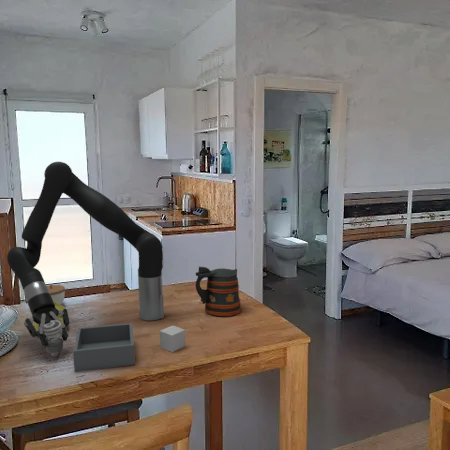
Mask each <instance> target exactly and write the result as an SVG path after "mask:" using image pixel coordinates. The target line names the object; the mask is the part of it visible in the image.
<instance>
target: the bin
mask: <svg viewBox="0 0 450 450" xmlns="http://www.w3.org/2000/svg"><path fill="white" fill-rule="evenodd" d="M133 331H134V330H133V322H130V323H119V324H108V325H107V324H106V325H97V326H86V327H78V328H77V330H76V336H75V341H74V345H73V351H72V354H73V355H72V356H73V369H74V370H73V372H82V371H90V370H98V369H99V370H101V369H109V368H116V367H117V368H118V367H125V366H134V365H136V361H135V360H136V359H135V341H134V338H135V337H134V332H133Z"/></svg>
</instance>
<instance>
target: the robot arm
mask: <svg viewBox="0 0 450 450" xmlns="http://www.w3.org/2000/svg"><path fill="white" fill-rule="evenodd" d="M43 173H44V176H43V177H44V180H43V185H42V189H41V192H40V194H39V197H38V199H37V201H36V203H35V205H34V207H33V209H32V210H31V213H30V215H29V217H28V218H27V221H26V223H25V225H24V228H23V230H22V233H21V239H22V240H23V241H25V242H26V248H25V247H22V246H14V247H12V248H10V250H9V251H8V253H7V257H6V260H7V264H8V266H9V268H10V269H11V271H12V272H13V273H14V275H15V276H16V277H17V279H18V280H19V281H20V284H21V287H22V290H23V292H24V298H25V301H26V303H27V305H28V308H29V311H30V313H31V317H30V318H28V317H26V318H25V320H24V323H23V324H24V326H25V327H26V329H27V331H28V333H29V334H30V336H31V337H32V338H38V339H39V340H40V341H39V342H40V344H41V345H42V347H44V348H46V347H47V346H48V341H47V340H48V338H46V336H45V334H44V332H45V331H44V325H45V324H48V323H50V321H52V320H56V321H60V322H61V320H60V319H59V318H58V317H57V316H58V314H59V315H60V316H61V317H62V318H63V323H64V324H63V323H62V322H61V326H62V336H61V339H62V340H63V342H66V341H67V340H68V338H69V334H68V332H67V329H68V328H69V325H70V324H71V323H70V317H69V312H68V309H67V308H65V309H64V310H59V311H58V310H57V309H56V307H55V304H54V302H53V299H52V297H51V294H50V292H49V290H48V287H47V286H48V285H47V284H46V282H45V280H44V277H43V274H42V272H41V271H40V270H39V269H37V268H36V266H37V265H38V263H39V262H40V259H41V254H42V253H41V252H42V246H43V239H44V237H45V235H46V233H47V230H48V229H49V225H50V223H51V221H52V217H53V215H54V212H55V210H56V208H57V205H58V202H59V201H60V199H61V197H62V195H63V194H64V195H65V196H67V197H68V198H70V199H72V200H73V201H74V202H75V203H76V204H77V205H78V206H79V207H80V208H81V209H82V210H83V211H84V212H86V213H87V214H88V215H89V216H90V217H91V218H92V219H93V220H94V221H96V222H97V223H99V224H100V225H101V226H103V227H104V228H106V229H107V230H108V231H111V232H113V233H114V234H117V235H119V236H120V237H122V238H123V239H124V240H126V241H127V242H128V243H129V244H130V245H131V246H133V248H134V249H135V250H136V251H137V252H138V268H137V278H138V279H137V281H138V283H137V284H138V285H137V286H138V303H139V305H138V306H139V307H138V309H139V312H138V313H139V319H140V320H142V321H146V322H147V321H157V320H160V319H164V315H165V313H164V312H165V311H164V308H165V307H164V294H163V268H164V267H163V266H164V262H163V261H164V255H163V253H164V251H163V250H164V249H163V248H164V247H163V244H162V241H161V240H160V239H159V238H158V237H157V236H156V235H155V234H153V233H152V232H149V231H148V230H147V229H146V228H143V227H142V226H140V225H139V224H137V223H136V222H135V221H134V220H133V219H132V218H131V217H130V216H129V215H128V214H127V213H126V212H125V211H124V210H123V209H122V208H120V206H118V205H117V204H116V203H115V202H114V201H112V200H111V199H110V198H108V197H107V196H106V195H104V194H103V193H101V192H99V191H98V190H97V189H94V188H92V187H91V186H89V185H88V184H86V183H85V182H83V180H81V179H80V178H79V177H78V176H77V175H76V174H75V173H74V172H73V171H72V168H71V167H70V165H68V163H65V162H64V161H54V162H51V163H50V164H48V165H47V166H46V168H45V170H44V172H43ZM34 322H35V323H37V324H39V327H38V331H36V329H35V327H34V326H33V325H34ZM58 324H59V323H58ZM54 326H56V325H54ZM65 328H67V329H65Z"/></svg>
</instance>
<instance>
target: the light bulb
mask: <svg viewBox="0 0 450 450" xmlns="http://www.w3.org/2000/svg"><path fill="white" fill-rule="evenodd" d="M58 323H59V324H58ZM54 325H56V326H54ZM57 329H58V330H57ZM43 334H45V336H46V339H47V341H48V346H47V347H45V350H46V352H48V353H50V355H51V356H53V357H57V356H58V355H59V354H60V351H62V350H63V348H64V343H63V342H64V341H63V339H62V326H61V322H60V321H56V320H52V321H50V323H48V324H45V325H44V332H43Z"/></svg>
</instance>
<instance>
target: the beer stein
mask: <svg viewBox="0 0 450 450" xmlns="http://www.w3.org/2000/svg"><path fill="white" fill-rule="evenodd" d="M195 276H196V277H197V278H196V281H195V290H196V293H197V294H198V297H200V302H201V303H202V304H203V305H204V311H205V312H206V314H209V315H211V316H215V317H232V316H236V315H237V314H239V313H240V312H241V310H242V309H241V299H240V293H239V288H240V287H239V286H240V285H239V278H238V269H237V268H235V269H234V268H233V269H229V268H216V269H212V270H210V269H209V268H208V267H205V266H198V271H197V272H195ZM206 278H207V280H206V281H207V282H206V289H203V288H202V287H201V281H202V280H203V279H206Z"/></svg>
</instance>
